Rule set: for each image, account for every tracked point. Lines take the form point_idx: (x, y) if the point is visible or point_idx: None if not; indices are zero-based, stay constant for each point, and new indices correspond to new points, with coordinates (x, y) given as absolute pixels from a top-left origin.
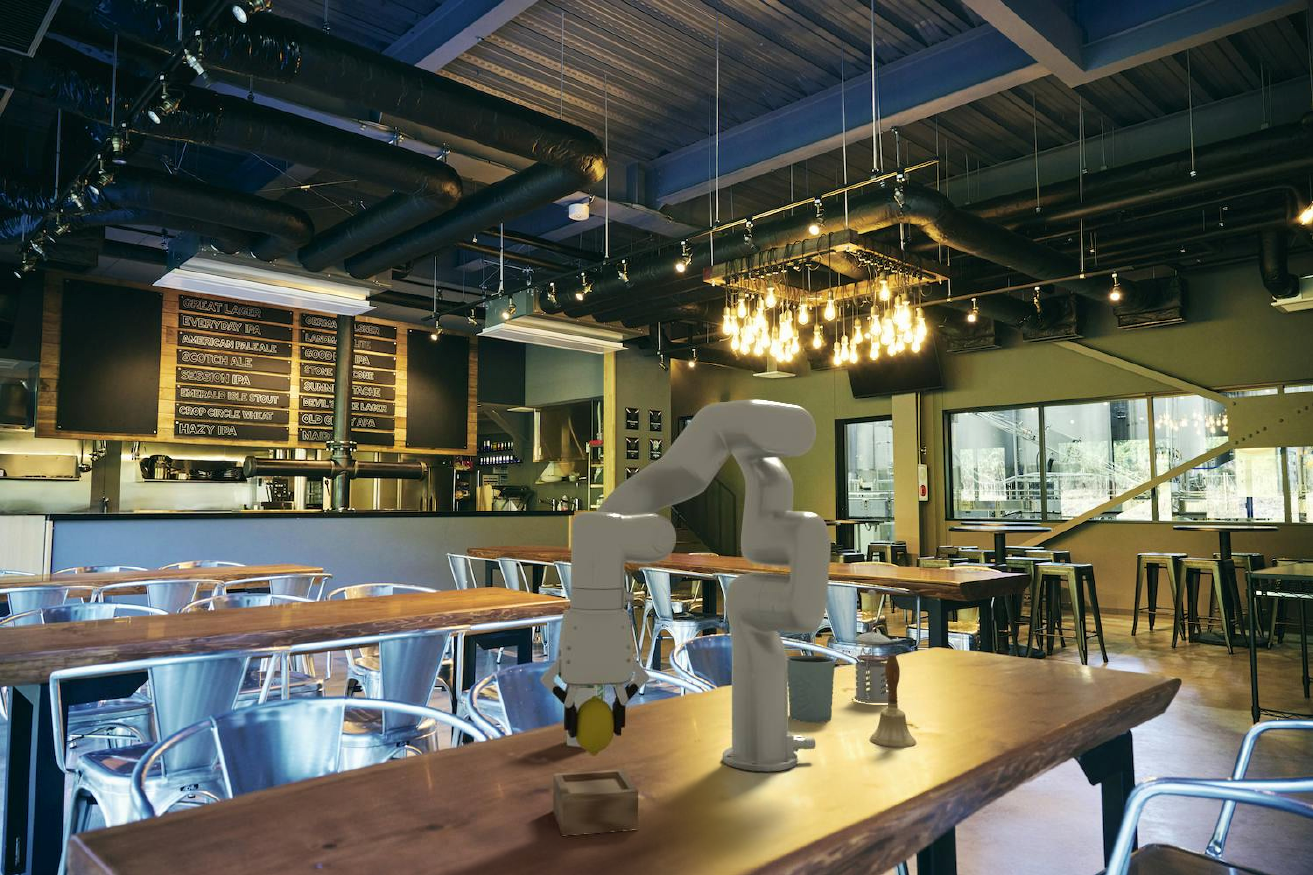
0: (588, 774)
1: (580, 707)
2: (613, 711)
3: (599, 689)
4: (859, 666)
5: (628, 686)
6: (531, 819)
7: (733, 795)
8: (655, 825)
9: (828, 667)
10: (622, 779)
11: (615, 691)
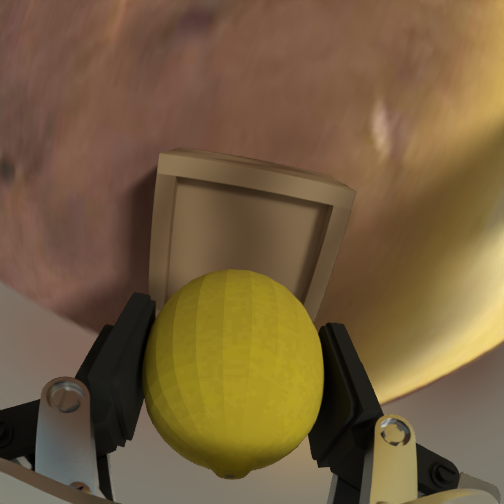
0: (252, 186)
1: (153, 419)
2: (332, 399)
3: None
4: None
5: (418, 491)
6: (130, 182)
7: (491, 222)
8: (331, 293)
9: None
10: (316, 263)
11: (366, 474)
